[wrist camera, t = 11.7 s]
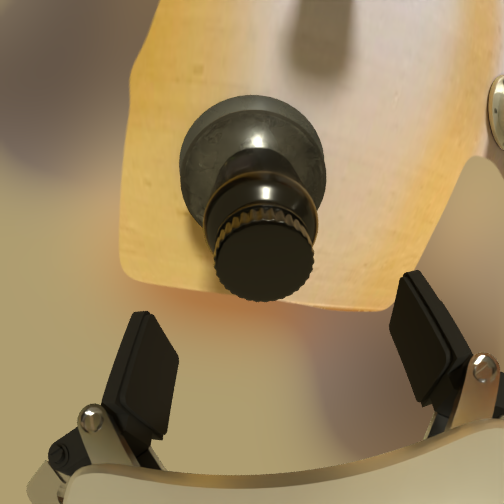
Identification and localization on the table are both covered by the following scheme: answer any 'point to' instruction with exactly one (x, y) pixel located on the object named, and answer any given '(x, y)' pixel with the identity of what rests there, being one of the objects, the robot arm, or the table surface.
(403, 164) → the table surface
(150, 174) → the table surface
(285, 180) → the supplement bottle
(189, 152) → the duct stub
